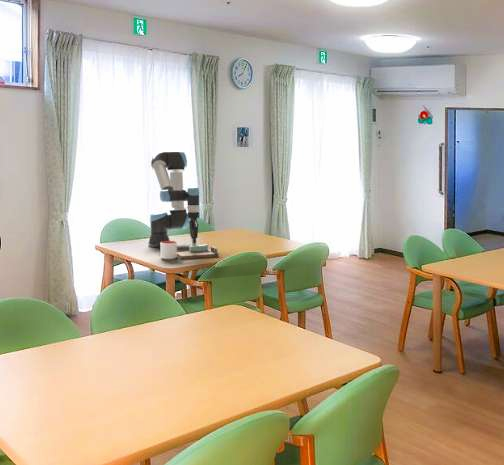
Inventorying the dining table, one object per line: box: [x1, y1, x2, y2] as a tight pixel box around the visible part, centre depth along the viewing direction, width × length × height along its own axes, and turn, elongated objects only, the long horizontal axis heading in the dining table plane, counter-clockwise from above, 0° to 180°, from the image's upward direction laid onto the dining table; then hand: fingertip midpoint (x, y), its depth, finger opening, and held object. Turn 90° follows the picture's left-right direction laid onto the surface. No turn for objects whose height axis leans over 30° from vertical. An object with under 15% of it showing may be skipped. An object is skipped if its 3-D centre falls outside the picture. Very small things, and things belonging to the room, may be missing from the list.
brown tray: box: [176, 245, 219, 260], centre depth 391 cm, size 14×24×5 cm, turn 112°
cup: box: [159, 240, 178, 260], centre depth 383 cm, size 10×10×10 cm
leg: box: [188, 243, 209, 251], centre depth 396 cm, size 12×3×4 cm, turn 112°
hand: (194, 248), depth 397 cm, fingers closed
